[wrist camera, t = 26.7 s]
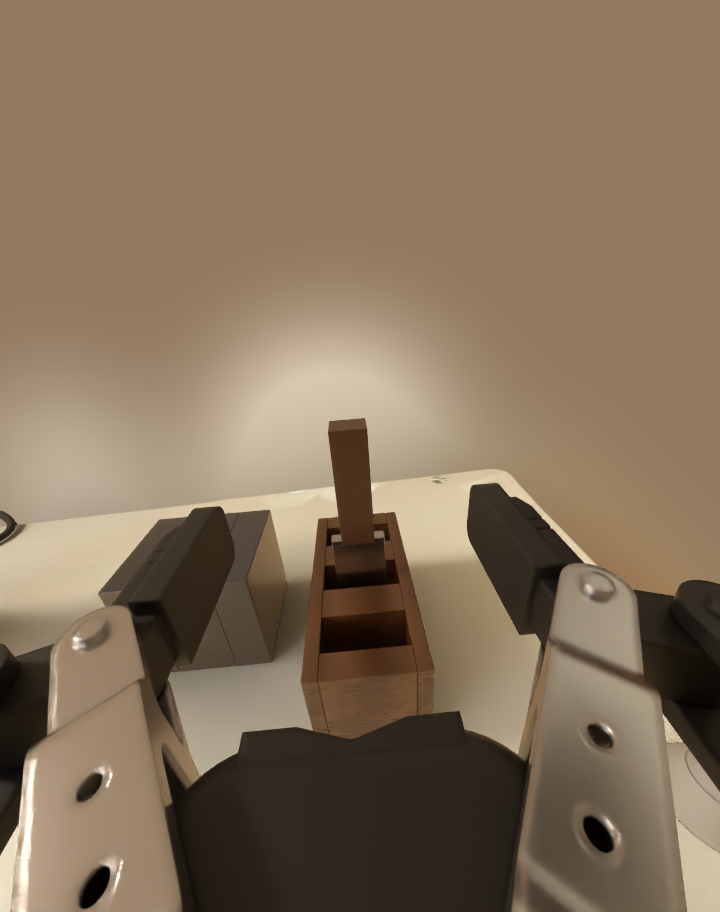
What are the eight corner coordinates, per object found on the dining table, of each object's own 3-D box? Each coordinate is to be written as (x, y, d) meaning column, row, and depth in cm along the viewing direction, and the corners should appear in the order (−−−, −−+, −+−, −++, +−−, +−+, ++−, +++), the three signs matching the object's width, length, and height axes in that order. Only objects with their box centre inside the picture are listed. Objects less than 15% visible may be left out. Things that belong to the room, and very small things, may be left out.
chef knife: (346, 651, 29) (314, 433, 20) (345, 630, 31) (317, 422, 21) (390, 647, 29) (380, 427, 20) (387, 626, 31) (376, 416, 21)
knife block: (145, 674, 28) (96, 593, 24) (189, 591, 36) (159, 519, 32) (271, 662, 28) (246, 579, 24) (287, 582, 36) (270, 509, 32)
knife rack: (317, 750, 23) (300, 683, 19) (327, 575, 37) (318, 518, 33) (431, 739, 23) (434, 669, 19) (396, 568, 37) (394, 511, 34)
